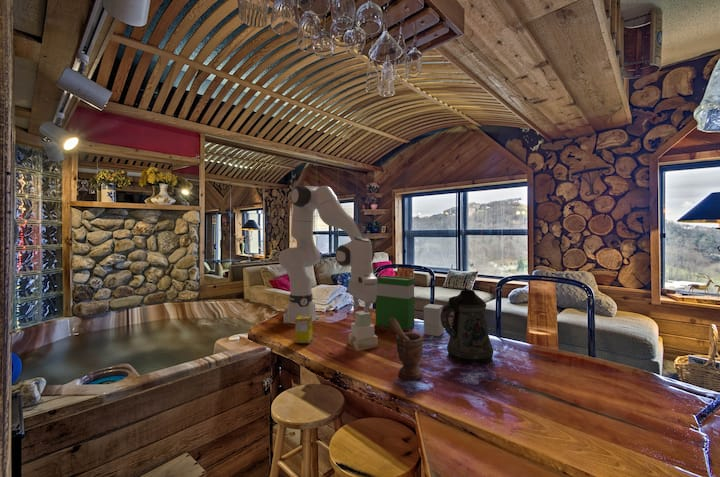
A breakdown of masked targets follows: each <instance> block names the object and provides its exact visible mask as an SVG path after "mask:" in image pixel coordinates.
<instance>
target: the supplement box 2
mask: <svg viewBox="0 0 720 477" xmlns="http://www.w3.org/2000/svg"><path fill="white" fill-rule="evenodd" d="M443 307H444V305H441V304H432V303H428V304H426V305H425V306H423V334H424V335H428V336H435V337H440V336H441V335H442V334H444V332H445V329H444V328H443V326H442V323H441V318H440V316H441V312H442V309H443Z"/></svg>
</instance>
